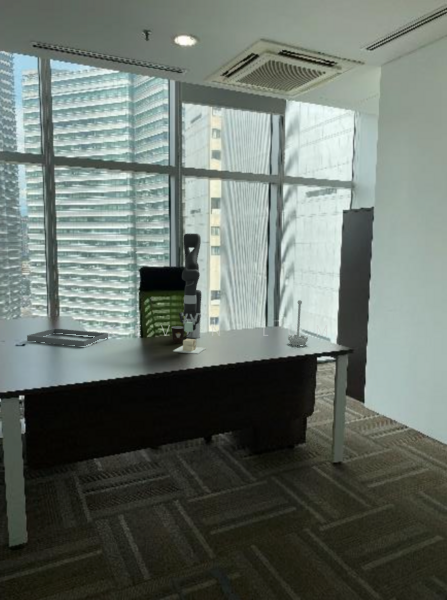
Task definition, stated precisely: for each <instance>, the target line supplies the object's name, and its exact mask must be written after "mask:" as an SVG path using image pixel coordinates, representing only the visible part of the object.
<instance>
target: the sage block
mask: <svg viewBox="0 0 447 600" xmlns="http://www.w3.org/2000/svg"><path fill="white" fill-rule="evenodd" d="M183 327H184V331H185V332H187V331H188V332H193V322H186V323H184V324H183Z"/></svg>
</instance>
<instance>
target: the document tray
mask: <svg viewBox="0 0 447 600" xmlns="http://www.w3.org/2000/svg"><path fill="white" fill-rule="evenodd" d="M53 333H63V334H76V335H88V336H95V337H94V338H87V339H85V340H79V339H71V338H59V337H52V336H47V337H43V336H46V335H49V334H53ZM26 338H27V339H26V341H36V342H45V343H55V344H64V345H75V346H86V345H88V344H91V343H93V342H95V341H97V340H99V339H105V338H107V339H108V340H109V333H107V332H96V331H95V332H94V331H88V330H87V331H86V330H77V329H68V328H66V329H65V328H56V327H54V328H51V329H46V330H44V331H43V330H42V331H39V332H36V333H31V334H27V335H26ZM36 342H35V343H36ZM45 343H44V344H45Z"/></svg>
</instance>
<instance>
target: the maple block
mask: <svg viewBox="0 0 447 600" xmlns="http://www.w3.org/2000/svg"><path fill="white" fill-rule="evenodd" d="M196 341H197V339H196V338H186V339H185V338H184V339H183V342H182V346H183V350H185V351H193V350H195V349H196V347H197V346H196V345H197V344H196V343H197V342H196Z"/></svg>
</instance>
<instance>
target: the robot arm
mask: <svg viewBox="0 0 447 600" xmlns="http://www.w3.org/2000/svg"><path fill="white" fill-rule="evenodd" d="M182 239H183V251H184V252H183V253H184V268H183V270H182V273H181V279H182V280H183V281H185V286H184V297H183V312H179V313H178V318H179V321H180V323H181V324H183V325H184V323H186V322H193V332H190V334H189V332H188V331H186V335H188V334H189V335H188V336H186V338H188V339H198V338H201V317H202V314H201V311H202V308H201V307H202V306H201V305H202V291H201V290H200V289H197V287H198V283H199V280H200V275H201V274H200V269H199V268H200V266H199V263H198V258H199V253H200V249H201V234H199V233H191V232H190V233H184V234H183V238H182ZM191 248H192V250H191ZM190 250H191V251H190ZM182 327H183V328H184V326H182Z"/></svg>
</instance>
